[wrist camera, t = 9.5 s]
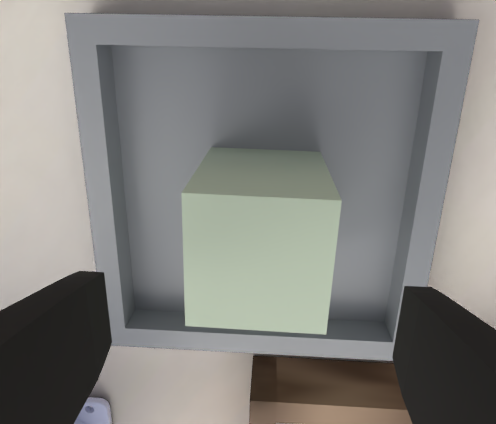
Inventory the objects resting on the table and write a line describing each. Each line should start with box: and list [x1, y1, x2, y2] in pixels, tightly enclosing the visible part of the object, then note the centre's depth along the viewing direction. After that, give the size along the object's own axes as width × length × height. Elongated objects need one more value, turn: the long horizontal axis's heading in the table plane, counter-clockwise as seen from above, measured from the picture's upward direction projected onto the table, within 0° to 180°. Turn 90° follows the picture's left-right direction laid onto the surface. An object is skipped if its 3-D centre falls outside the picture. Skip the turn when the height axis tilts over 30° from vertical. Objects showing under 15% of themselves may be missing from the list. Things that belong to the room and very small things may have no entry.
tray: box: [64, 13, 479, 361], centre depth 18 cm, size 14×14×2 cm
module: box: [181, 147, 342, 335], centre depth 16 cm, size 4×4×6 cm
